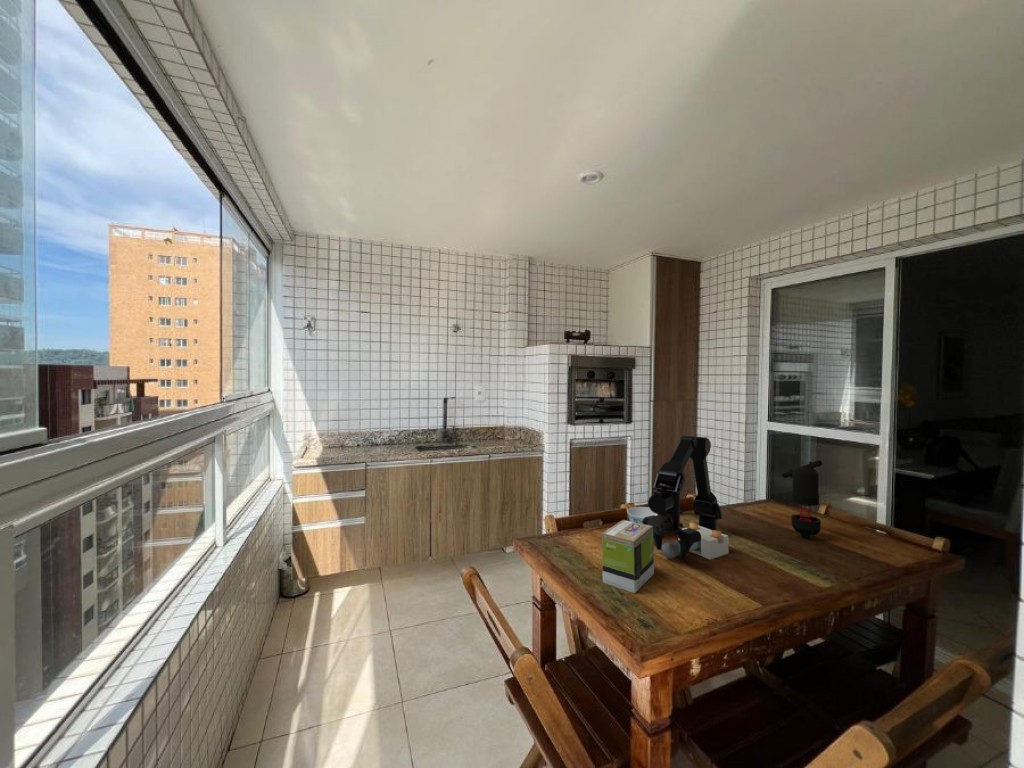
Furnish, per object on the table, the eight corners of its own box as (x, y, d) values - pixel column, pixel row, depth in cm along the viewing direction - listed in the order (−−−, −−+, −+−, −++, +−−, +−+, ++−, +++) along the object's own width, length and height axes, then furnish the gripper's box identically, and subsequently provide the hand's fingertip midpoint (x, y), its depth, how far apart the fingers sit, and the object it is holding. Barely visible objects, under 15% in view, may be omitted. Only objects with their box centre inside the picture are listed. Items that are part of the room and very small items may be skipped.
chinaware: (661, 543, 143) (661, 521, 143) (621, 533, 152) (621, 513, 152) (672, 531, 155) (673, 511, 155) (635, 523, 164) (635, 504, 164)
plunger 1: (692, 528, 144) (692, 521, 144) (699, 531, 141) (699, 524, 141) (687, 530, 142) (687, 523, 142) (694, 532, 140) (694, 525, 140)
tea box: (623, 565, 125) (623, 518, 125) (654, 574, 119) (655, 525, 119) (601, 583, 114) (601, 531, 114) (635, 595, 107) (635, 540, 108)
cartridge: (693, 546, 138) (693, 533, 138) (704, 551, 134) (704, 537, 134) (661, 555, 131) (661, 541, 131) (673, 560, 127) (673, 546, 127)
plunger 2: (715, 536, 136) (715, 529, 136) (723, 539, 133) (723, 532, 133) (710, 538, 134) (710, 530, 135) (717, 541, 132) (717, 533, 132)
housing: (696, 541, 145) (696, 524, 145) (728, 553, 134) (728, 535, 134) (678, 546, 140) (678, 529, 140) (709, 559, 130) (709, 541, 130)
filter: (829, 541, 146) (829, 459, 146) (815, 545, 142) (815, 461, 142) (789, 529, 158) (789, 454, 158) (776, 533, 154) (776, 455, 154)
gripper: (631, 502, 134) (631, 549, 134) (678, 519, 117) (677, 572, 117) (654, 498, 139) (654, 543, 139) (702, 513, 123) (702, 564, 123)
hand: (670, 554), depth 129 cm, fingers open, 9 cm apart
